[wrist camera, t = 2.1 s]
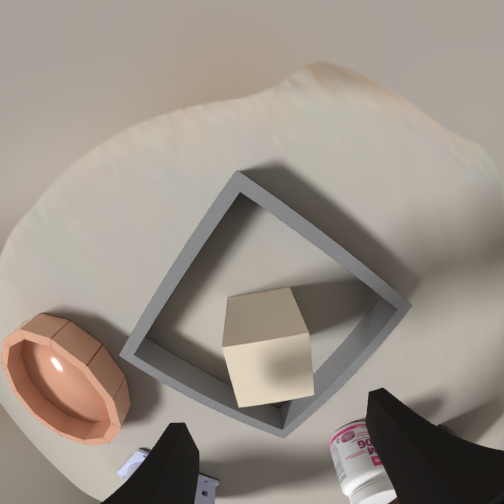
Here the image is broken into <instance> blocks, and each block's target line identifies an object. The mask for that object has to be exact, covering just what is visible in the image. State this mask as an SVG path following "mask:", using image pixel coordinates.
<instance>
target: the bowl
mask: <svg viewBox="0 0 504 504" xmlns="http://www.w3.org/2000/svg"><path fill="white" fill-rule="evenodd" d="M1 364H2V366H3V369H4V372H5V374H6V377H7V379H8V382H9V384H10V387H11V389H12V391H13V392H14V393H15V395H16V396H17V397H18V399H19V400H20V401H21V402H22V404H23V405H24V406H25V407H26V409H27V410H28V411H29V412H30V413H31V414H32V415H33V416H34V417H35V418H36V419H37V420H39V421H40V422H41V423H43V424H44V425H45V426H47V427H48V428H49V429H51V430H52V431H54V432H55V433H56V434H58V435H60V436H62V437H64V438H67V439H70V440H73V441H75V442H78V443H81V444H84V445H100V444H110V443H111V442H112V440H113V439H114V437H115V436H116V435H117V433H118V432H119V430H120V429H121V427H122V425H123V422H124V420H125V418H126V415H127V413H128V411H129V408H130V406H131V401H130V396H129V391H128V386H127V380H126V377H125V375H124V373H123V372H122V371H121V369H120V368H119V367H118V365H117V364H116V363H115V361H114V360H113V358H112V357H111V356H110V354H109V353H108V351H107V350H106V348H105V347H104V345H102V344H101V343H100V342H99V341H97V340H96V339H94V338H93V337H92V336H90V335H89V334H88V333H86V332H85V331H84V330H82V329H81V328H80V327H78V326H77V325H76V324H74V323H73V322H72V321H70V320H67V319H63V318H58V317H54V316H50V315H46V314H42V313H41V314H38V315H37V316H35V317H33V318H31V319H30V320H28V321H26V322H25V323H23V324H22V325H20V326H19V327H18V328H17V329H15V330H14V331H13V332H12V333H10V334H9V335H8V336H7V337H5V338H4V339H3V345H2V356H1Z"/></svg>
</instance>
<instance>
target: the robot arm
mask: <svg viewBox="0 0 504 504" xmlns="http://www.w3.org/2000/svg"><path fill="white" fill-rule="evenodd" d="M365 425H366V428H367V431H368V434H369V437H370V439H371V442H372V445H373V447H374V449H375V451H376V453H377V455H378V457H379V459H380V461H381V463H382V465H383V467H384V469H385V471H386V473H387V475H388V477H389V479H390V481H391V483H392V485H393V488H394V490H395V493H396V496H397V499H398V502H399V504H504V451H502V450H497V449H492V448H488V447H484V446H481V445H478V444H475V443H471V442H468V441H466V440H463V439H461V438H458V437H456V436H454V435H452V434H450V433H448V432H446V431H444V430H442V429H440V428H439V427H437V426H435V425H434V424H432V423H430V422H429V421H427V420H426V419H424V418H423V417H421V416H420V415H418V414H417V413H415V412H414V411H413V410H411V409H410V408H408V407H407V406H406V405H405V404H403V403H402V402H401V401H399V400H398V399H397V398H396V397H394V396H393V395H392V394H391V393H389V392H388V391H387V390H386V389H384V388H380V389H377V390H374V391H370V392H369V395H368V406H367V415H366V423H365ZM117 474H118V475H119V476H121V477H123V478H124V481H123V484H122V486H121V487H120V488H119V489H117V490H116V491H115V492H114V493H113V494H112V495H111V496H109V497H108V498H107V499H106V500H105V501H103V502H102V503H101V504H215V489H216V487H217V486H218V485H219V481H217V480H215V479H212V478H209V477H206V476H203V475H200V474H199V450H198V448H197V446H196V445H195V443H194V441H193V439H192V437H191V435H190V433H189V431H188V428H187V426H186V424H185V423H170V424H169V425H168V427H167V428H166V430H165V431H164V433H163V434H162V435H161V437H160V438H159V440H158V441H157V443H156V444H155V446H154V447H153V449H152V450H151V451H150V453H148V452H146V451H144V450H142V449H138V450H137V451H136V452H135V453H134V454H133V455H132V456H131V457H130V458H129V460H128V461H127V462H126V463H125V464H124V465H123V466H122V467H121V468H120V469H119V470H118V472H117Z"/></svg>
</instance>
